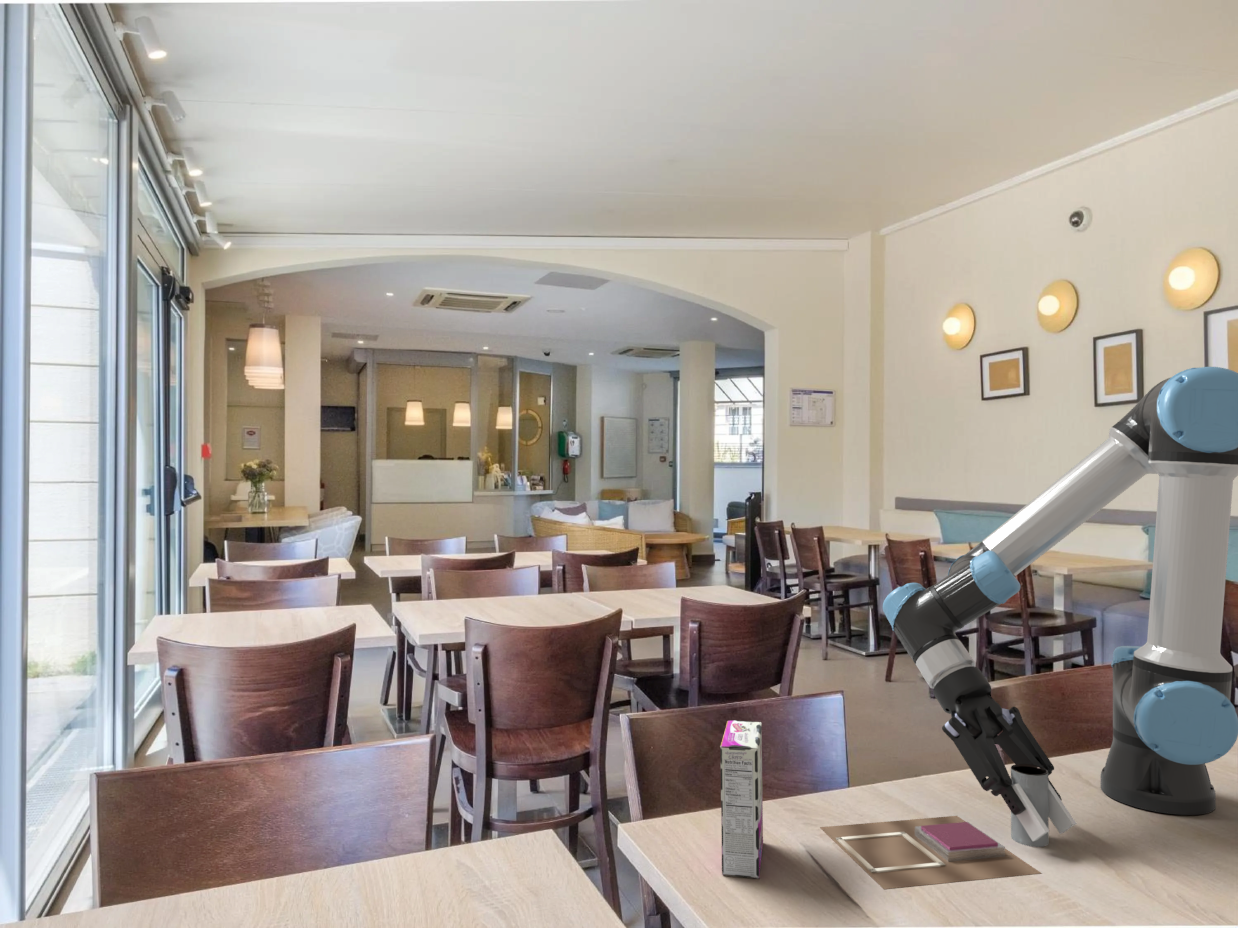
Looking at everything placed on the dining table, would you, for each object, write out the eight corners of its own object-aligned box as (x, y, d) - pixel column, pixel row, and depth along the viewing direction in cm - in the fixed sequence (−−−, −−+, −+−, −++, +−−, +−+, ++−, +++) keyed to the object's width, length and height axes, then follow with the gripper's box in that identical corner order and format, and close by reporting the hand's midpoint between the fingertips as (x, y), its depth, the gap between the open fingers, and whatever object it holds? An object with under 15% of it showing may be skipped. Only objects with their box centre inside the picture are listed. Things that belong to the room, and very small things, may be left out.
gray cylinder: (1052, 854, 113) (1052, 775, 113) (1015, 851, 114) (1015, 773, 114) (1043, 840, 117) (1042, 764, 117) (1007, 837, 118) (1007, 762, 118)
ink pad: (968, 830, 118) (968, 819, 118) (1004, 856, 110) (1004, 844, 110) (914, 835, 117) (914, 824, 117) (948, 861, 109) (948, 849, 109)
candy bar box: (726, 838, 118) (726, 718, 118) (763, 842, 117) (763, 721, 117) (719, 876, 107) (719, 744, 107) (759, 880, 106) (759, 746, 106)
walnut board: (956, 822, 123) (956, 814, 123) (1041, 881, 106) (1041, 871, 106) (819, 834, 119) (819, 825, 119) (884, 897, 102) (883, 886, 102)
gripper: (982, 685, 133) (1080, 832, 118) (896, 698, 126) (990, 857, 111) (1010, 657, 129) (1117, 807, 114) (923, 670, 121) (1025, 831, 106)
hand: (1054, 831), depth 112 cm, fingers closed on gray cylinder, 4 cm apart
